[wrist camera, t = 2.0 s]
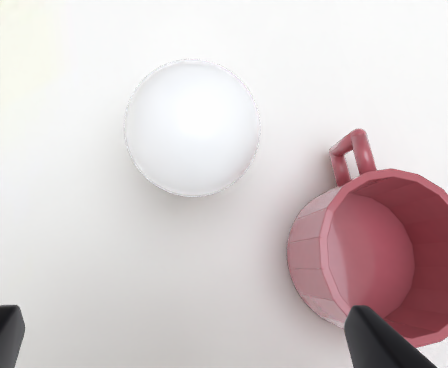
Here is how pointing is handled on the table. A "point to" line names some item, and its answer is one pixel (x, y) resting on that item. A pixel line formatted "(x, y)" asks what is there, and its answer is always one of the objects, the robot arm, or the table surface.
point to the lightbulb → (192, 127)
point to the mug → (374, 247)
